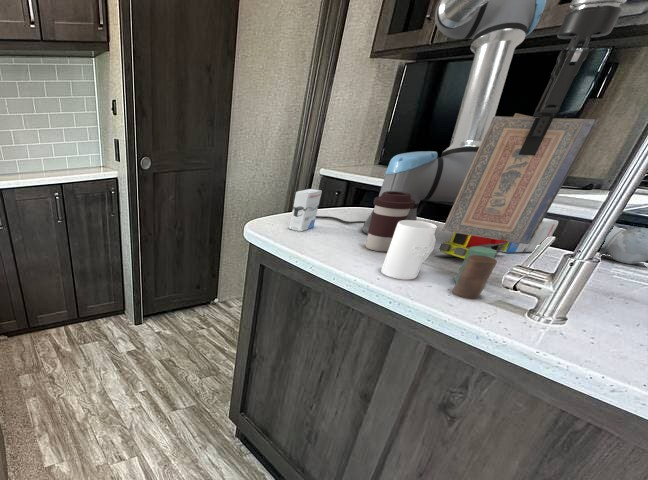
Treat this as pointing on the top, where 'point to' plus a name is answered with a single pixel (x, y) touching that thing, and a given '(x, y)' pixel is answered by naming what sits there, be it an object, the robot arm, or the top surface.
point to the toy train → (470, 244)
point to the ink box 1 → (305, 209)
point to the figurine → (626, 245)
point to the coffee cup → (387, 218)
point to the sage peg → (476, 251)
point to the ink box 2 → (543, 231)
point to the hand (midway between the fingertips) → (525, 153)
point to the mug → (409, 249)
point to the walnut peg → (474, 276)
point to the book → (516, 178)
